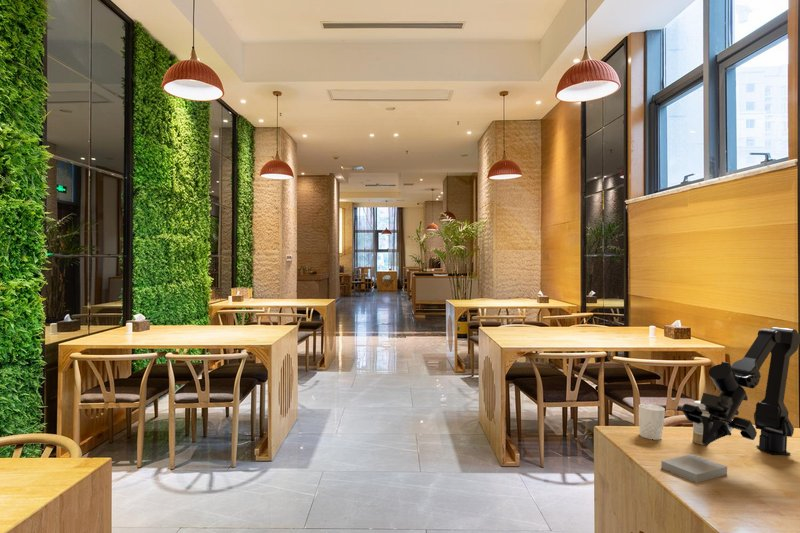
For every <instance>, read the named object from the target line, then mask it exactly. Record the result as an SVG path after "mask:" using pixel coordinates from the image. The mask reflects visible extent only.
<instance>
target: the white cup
mask: <svg viewBox="0 0 800 533" xmlns="http://www.w3.org/2000/svg"><path fill="white" fill-rule="evenodd" d="M665 413H666V408H665V407H663V406H661V405H655V404H650V403H641V404H638V428H639V430H638V432H639V436H640V437H641V438H645V439H646V440H647V439H648V440H652V439H653V440H654V441H658V440H661V439H663V430H664V424H665Z"/></svg>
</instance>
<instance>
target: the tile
mask: <svg viewBox="0 0 800 533" xmlns="http://www.w3.org/2000/svg"><path fill="white" fill-rule="evenodd" d="M660 465H661V466H660V467H661V469H662V468H663V469H662V470H664V469H665V471H666V470H667V472H669V471H670V472H669V473H671V472H672V474H674V473H675V474H674V475H676V474H677V476H679V477H682V478H683V479H686V480H688V481H691V482H694V483H696V484H697V483H699V482H704V481H709V480H711V479H716V478H718V477H719V478H720V477H722V476H726V475H727V474H728V466H726V465H723V464H721V463H718V462H715V461H713V460H710V459H707V458H705V457H701V456H699V455H695V454H693V453H690V454H686V455H681V456H677V457H673V458H669V459H664V460H661V464H660Z"/></svg>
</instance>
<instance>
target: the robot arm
mask: <svg viewBox="0 0 800 533" xmlns="http://www.w3.org/2000/svg"><path fill="white" fill-rule="evenodd" d="M799 346H800V333H799V332H798V331H797V330H796V329H794V328H785V327H779V326H778V327H777V326H772V327H771V328H760V329H758V332H757V336H756V338H755V339H754V341H753V342H752V344H751V345H750V346H749V348H748V350H747V352H746V353H745V354H744V356H743V357H742V358H741V359H739V360H736V361H734V362H733V363H732V364H730V362H726V361H722V362H721V363H719V364H716V365H714V366H712V367H710V368H709V370H708V374H709V377H710V379H711V380H712V382H713V384H714V385H715V387H716V389H717V390H718V391H720V392H719V393H718V395H716V394H711V393H707V392H702V395H701V398H700V401H701V402H700V403H701V404H703V405H705V406H706V407H705V409H706V411H708V412H705V411H702V412H701V410H700V408H699V407H698V406H695V405H694V404H692V403H691V404H690V403H687V402H686V403H684V404H683V405H682V406H681V408H680V409H681V411H682V413H683V415H684V416H685V418H686V419H687V420H688V422H692V423H693V422H694V423H698V424H699V423H703V438H702V443H703V444H704V446H707V445H709V444H711V443H714V442H715V441H717V440H719V439H721V438H725V437H726V436H731V435H732V433H731V432H732V430H734V429H735V430H739V431H740V432H739V434H740V435H741V437H742V438H745V439H748V440H750V441H751V440H752V441H754V440H755V439H756V437H757V433H758V431H757V430H756V429H758V430H760V434H759V439H758V440H759V442H758V443H759V444H758V445H756V447H755V448H757V449H760V450H762V451H763V452H765V453H768V454H769V455H782V456H783V455H786V456H787V455H789V456H790V455H791V454H792V453H791V452H789V451H788V450H787V446H788V437H789V438H790V437H791V438H792V437H793V435H794V430H795V429H794V426H793V424H792V422H791V420H790V419H789V410H788V409H787V407H786V404H785V402H784V401H785V395H786V394H785V393H786V387H787V386H786V385H787V379H788V373H789V366H790V361H791V357H792V356H793V355H794V354H795V353H796V352H797V351H799V350H798V349H799ZM769 355H770V360H769V367H768V373H767V379H766V386H765V394H764V398H763V399H762V400H761V401H757V402H756V404H755V411H754V414H753V419H754V420H753V421H754V425H755V426H754V425H753V423H752V421H751V420H750V419H747V418H743V417H739V414H740V412H739V410H738V409H739V408H740V406H741V404H742V403H743V401H745V402H746V401H748V400H749V399H748V395H747V392H746V390H745V389H744V388H746V389H755V388H756V387H757V386H759V383H760V379H761V372H760V370H761V367H762V366H763V364H764V363H765V361H766V360H767V358H768V356H769ZM734 416H735V417H734Z"/></svg>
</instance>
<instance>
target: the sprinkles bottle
mask: <svg viewBox="0 0 800 533" xmlns="http://www.w3.org/2000/svg"><path fill="white" fill-rule="evenodd" d="M700 402H701V400H694V401H693V405H695V406H698V407H699V408H700V410H701V412H702V411H705V412H708V411H706V409H705V407H706V406H705V405H703V404H701V403H700ZM692 424H693V425H692V440H691V441H692V442H693V443H695V444H697V445H702V446H703V445H704V444H703V443H702V438H703V423H699V424H698V423H694V422H692ZM704 446H705V445H704Z"/></svg>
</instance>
